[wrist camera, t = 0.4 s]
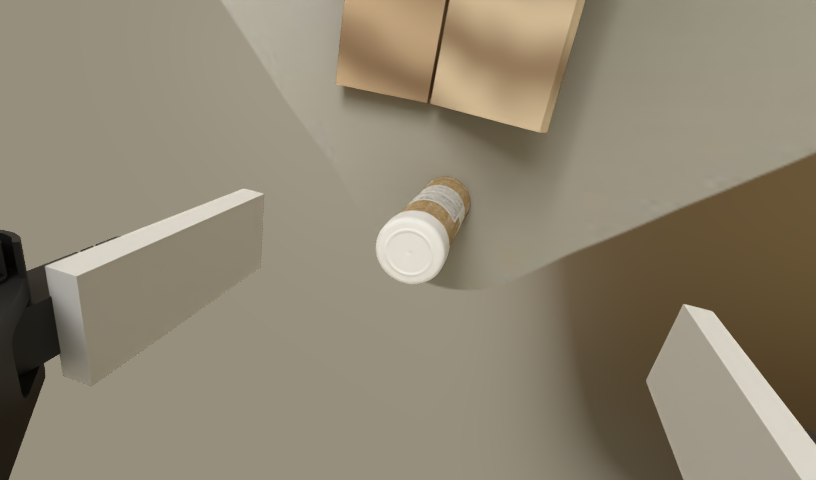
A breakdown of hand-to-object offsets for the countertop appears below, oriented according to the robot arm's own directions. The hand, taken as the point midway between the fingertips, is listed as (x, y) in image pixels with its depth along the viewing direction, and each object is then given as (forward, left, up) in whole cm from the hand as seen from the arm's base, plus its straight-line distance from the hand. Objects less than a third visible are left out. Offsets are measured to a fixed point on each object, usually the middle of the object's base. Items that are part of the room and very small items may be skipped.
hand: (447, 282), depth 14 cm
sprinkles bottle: (+5, -4, -26) cm, 26 cm away
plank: (-8, -1, -22) cm, 24 cm away
